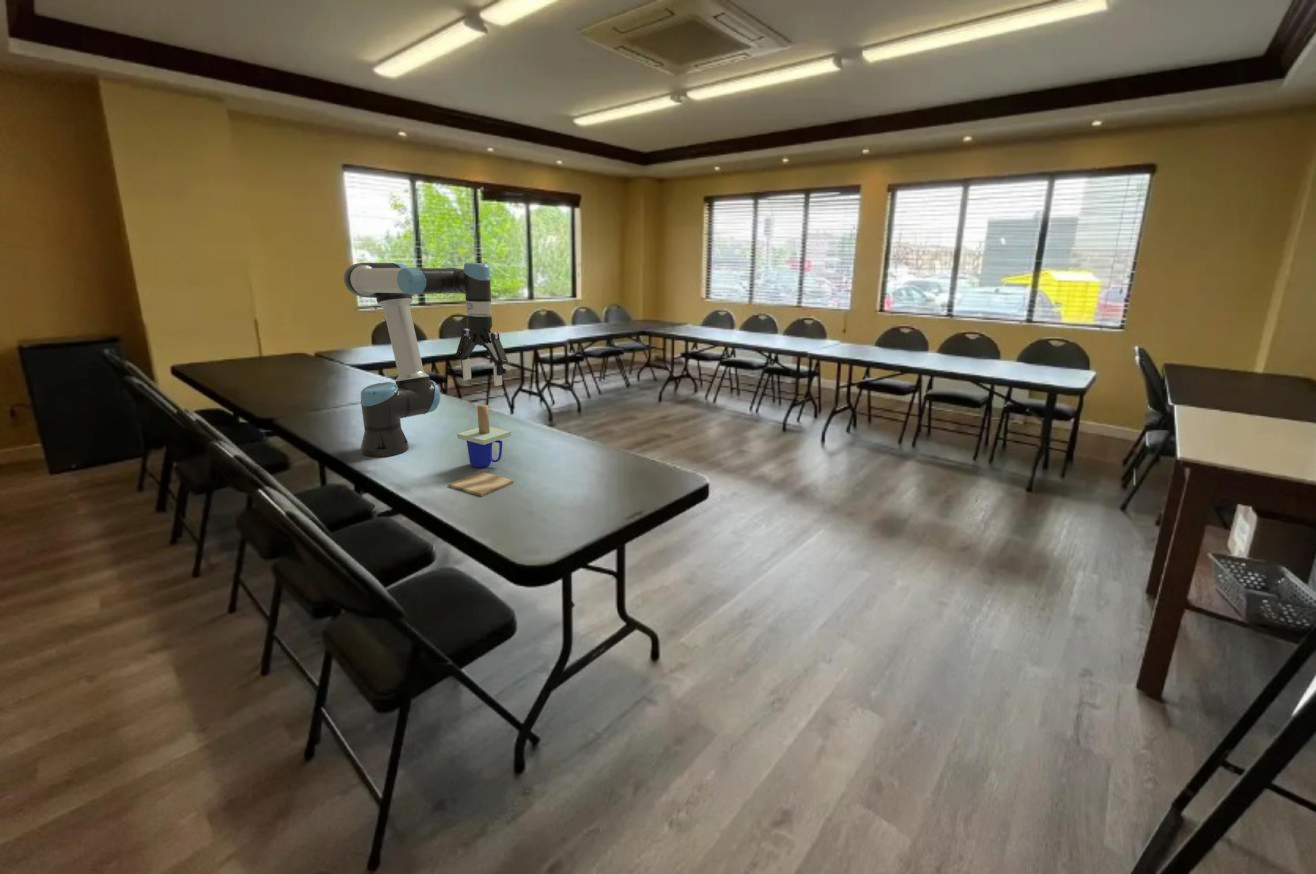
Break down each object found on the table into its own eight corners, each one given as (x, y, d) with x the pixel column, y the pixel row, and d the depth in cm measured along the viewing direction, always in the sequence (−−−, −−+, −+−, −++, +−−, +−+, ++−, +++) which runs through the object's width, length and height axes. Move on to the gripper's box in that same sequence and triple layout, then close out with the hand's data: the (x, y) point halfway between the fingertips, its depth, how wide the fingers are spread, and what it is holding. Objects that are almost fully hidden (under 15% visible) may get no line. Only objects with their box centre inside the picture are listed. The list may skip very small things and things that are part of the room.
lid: (457, 438, 187) (455, 406, 184) (485, 429, 197) (483, 400, 194) (483, 444, 181) (482, 412, 178) (511, 435, 191) (509, 405, 188)
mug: (497, 471, 187) (495, 442, 184) (463, 467, 189) (461, 438, 186) (508, 463, 195) (507, 435, 192) (475, 459, 197) (474, 432, 194)
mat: (448, 486, 173) (448, 483, 173) (481, 473, 184) (481, 471, 184) (481, 496, 167) (481, 493, 167) (513, 482, 178) (513, 480, 177)
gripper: (441, 312, 180) (445, 378, 186) (500, 319, 169) (503, 389, 175) (460, 311, 186) (463, 375, 193) (518, 317, 175) (520, 385, 181)
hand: (482, 382), depth 184 cm, fingers open, 13 cm apart
